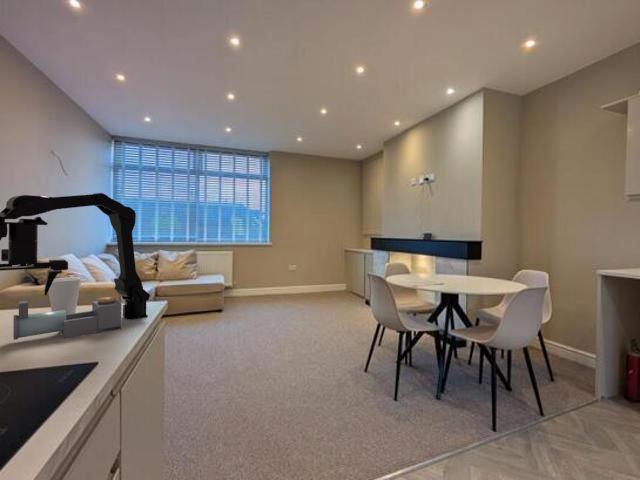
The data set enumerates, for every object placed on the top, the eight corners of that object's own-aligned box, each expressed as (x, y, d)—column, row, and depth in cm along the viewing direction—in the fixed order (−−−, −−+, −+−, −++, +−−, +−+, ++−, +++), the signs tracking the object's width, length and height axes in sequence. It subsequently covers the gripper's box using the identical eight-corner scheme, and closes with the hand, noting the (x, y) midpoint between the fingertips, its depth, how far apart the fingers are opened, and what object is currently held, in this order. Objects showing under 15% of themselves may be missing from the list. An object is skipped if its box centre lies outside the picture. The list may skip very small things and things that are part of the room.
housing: (113, 321, 103) (114, 298, 103) (121, 328, 96) (121, 304, 96) (60, 330, 93) (60, 305, 93) (63, 339, 86) (64, 311, 86)
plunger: (113, 308, 100) (113, 296, 100) (116, 311, 97) (116, 298, 97) (96, 310, 97) (96, 298, 97) (99, 313, 94) (99, 300, 94)
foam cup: (79, 309, 117) (79, 276, 117) (82, 314, 110) (82, 279, 110) (46, 314, 110) (46, 278, 110) (47, 319, 104) (47, 282, 103)
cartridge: (63, 328, 92) (63, 295, 92) (66, 333, 87) (66, 299, 87) (13, 336, 84) (13, 301, 84) (13, 342, 80) (13, 305, 80)
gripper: (64, 240, 95) (63, 289, 95) (-26, 240, 82) (-26, 297, 82) (68, 241, 87) (68, 294, 88) (-30, 241, 74) (-30, 304, 74)
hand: (22, 297), depth 83 cm, fingers open, 9 cm apart
